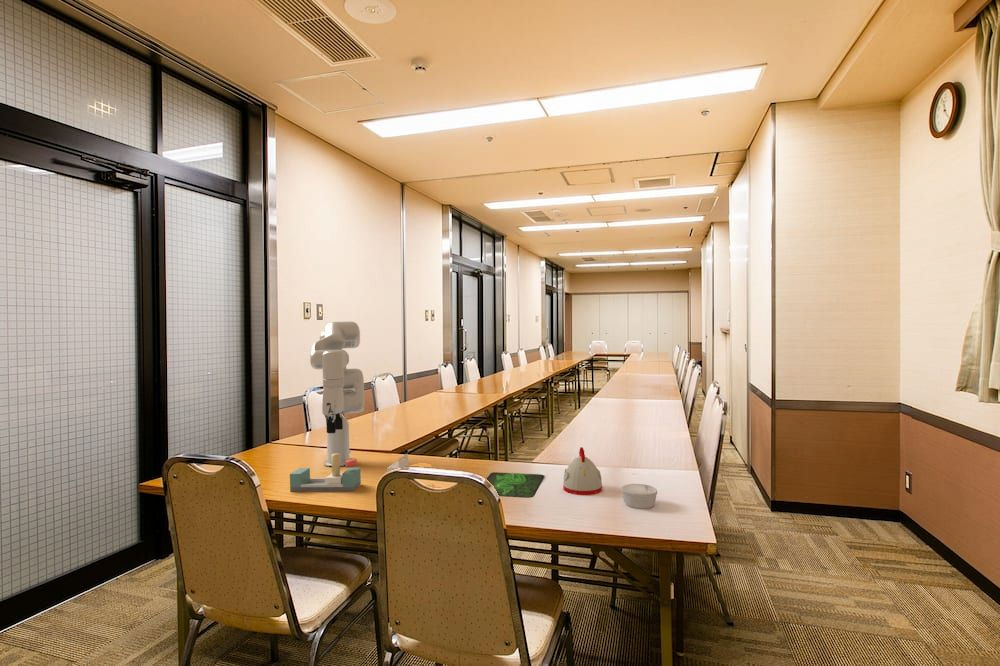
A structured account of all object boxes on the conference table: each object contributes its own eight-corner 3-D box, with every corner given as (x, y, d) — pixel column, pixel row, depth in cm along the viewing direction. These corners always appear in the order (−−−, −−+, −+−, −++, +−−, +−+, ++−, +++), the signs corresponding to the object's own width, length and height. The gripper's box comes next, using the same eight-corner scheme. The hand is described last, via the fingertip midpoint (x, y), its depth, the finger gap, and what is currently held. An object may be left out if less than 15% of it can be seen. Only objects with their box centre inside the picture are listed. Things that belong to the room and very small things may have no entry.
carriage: (331, 480, 195) (330, 452, 195) (346, 480, 194) (346, 452, 194) (325, 485, 189) (324, 456, 189) (340, 485, 188) (340, 456, 188)
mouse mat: (533, 499, 175) (533, 496, 175) (472, 495, 180) (471, 493, 180) (545, 476, 201) (545, 473, 201) (491, 474, 206) (491, 471, 206)
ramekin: (665, 507, 163) (664, 490, 163) (636, 513, 159) (636, 496, 159) (642, 497, 173) (641, 481, 173) (615, 502, 169) (614, 486, 169)
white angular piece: (397, 493, 183) (396, 452, 183) (410, 493, 182) (409, 453, 182) (387, 501, 175) (386, 458, 175) (400, 502, 174) (399, 459, 174)
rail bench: (300, 484, 197) (299, 467, 197) (360, 484, 195) (360, 467, 195) (290, 491, 189) (289, 473, 189) (353, 491, 187) (352, 473, 187)
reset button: (348, 464, 193) (347, 459, 193) (358, 464, 193) (358, 459, 193) (344, 467, 189) (344, 461, 189) (354, 467, 189) (354, 461, 189)
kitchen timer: (565, 496, 176) (564, 452, 176) (561, 483, 190) (560, 443, 190) (605, 495, 176) (604, 452, 176) (598, 483, 190) (597, 443, 190)
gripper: (333, 381, 200) (334, 426, 200) (313, 386, 183) (315, 436, 183) (351, 381, 200) (352, 426, 200) (334, 386, 182) (335, 436, 183)
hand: (334, 430), depth 191 cm, fingers open, 6 cm apart
